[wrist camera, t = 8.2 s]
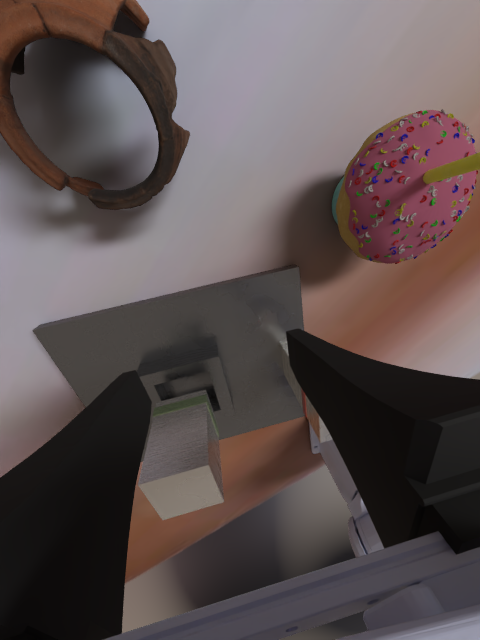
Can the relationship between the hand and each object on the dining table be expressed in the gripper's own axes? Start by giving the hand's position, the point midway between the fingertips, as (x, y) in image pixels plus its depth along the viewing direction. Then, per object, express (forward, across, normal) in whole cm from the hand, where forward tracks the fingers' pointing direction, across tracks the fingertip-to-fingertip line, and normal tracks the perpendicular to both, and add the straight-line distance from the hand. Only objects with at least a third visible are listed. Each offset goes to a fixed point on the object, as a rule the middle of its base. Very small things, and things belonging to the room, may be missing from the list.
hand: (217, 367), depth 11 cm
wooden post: (+6, +4, +8) cm, 11 cm away
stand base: (+10, +4, +8) cm, 14 cm away
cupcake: (+11, -14, -5) cm, 18 cm away
